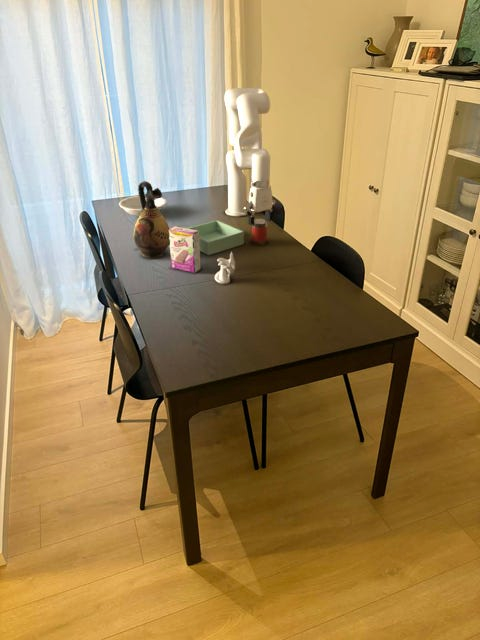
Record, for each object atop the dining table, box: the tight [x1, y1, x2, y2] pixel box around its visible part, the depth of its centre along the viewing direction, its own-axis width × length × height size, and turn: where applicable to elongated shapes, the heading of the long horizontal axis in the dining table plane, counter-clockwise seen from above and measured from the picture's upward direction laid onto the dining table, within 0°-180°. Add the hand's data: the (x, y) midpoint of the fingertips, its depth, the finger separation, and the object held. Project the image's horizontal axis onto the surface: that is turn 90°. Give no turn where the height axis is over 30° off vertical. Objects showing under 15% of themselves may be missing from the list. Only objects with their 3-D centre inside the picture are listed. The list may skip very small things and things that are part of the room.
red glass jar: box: [251, 218, 268, 246], centre depth 217 cm, size 7×7×10 cm
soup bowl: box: [118, 195, 168, 218], centre depth 250 cm, size 24×24×7 cm
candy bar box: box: [169, 225, 202, 274], centre depth 192 cm, size 11×5×16 cm, turn 65°
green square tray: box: [187, 219, 245, 256], centre depth 218 cm, size 20×20×6 cm
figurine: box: [214, 251, 236, 285], centre depth 182 cm, size 11×8×12 cm
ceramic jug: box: [132, 180, 170, 259], centre depth 201 cm, size 17×15×30 cm
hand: (259, 222), depth 215 cm, fingers open, 9 cm apart
